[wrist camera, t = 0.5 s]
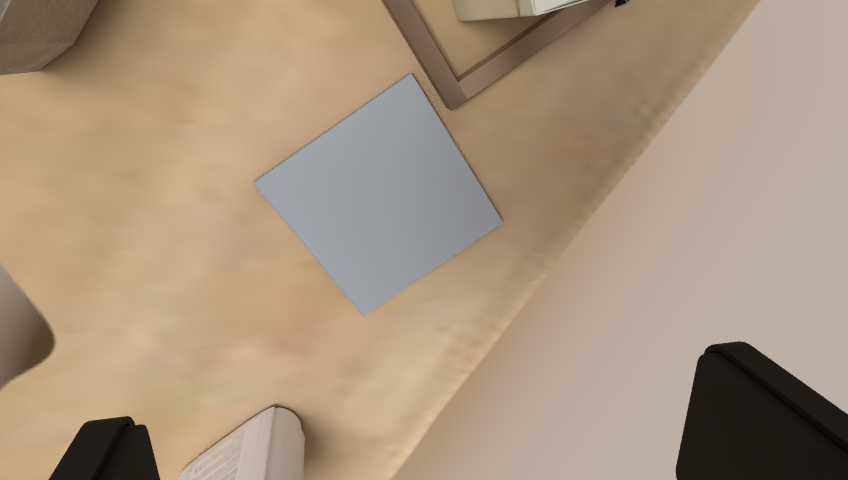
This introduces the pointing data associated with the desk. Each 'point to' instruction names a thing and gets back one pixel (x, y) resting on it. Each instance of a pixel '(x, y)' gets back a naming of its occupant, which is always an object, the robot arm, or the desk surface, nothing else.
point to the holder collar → (491, 66)
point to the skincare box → (506, 8)
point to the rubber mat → (381, 196)
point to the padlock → (38, 31)
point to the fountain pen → (620, 2)
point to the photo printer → (255, 451)
